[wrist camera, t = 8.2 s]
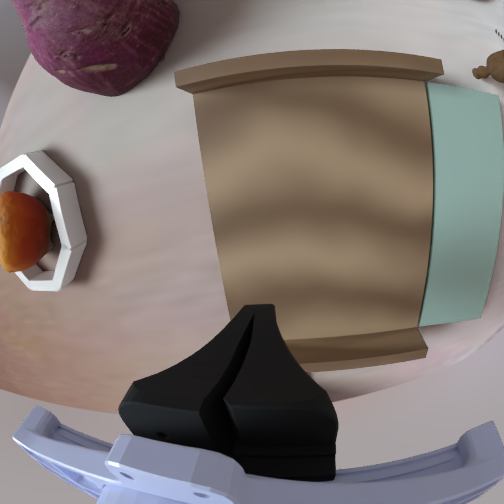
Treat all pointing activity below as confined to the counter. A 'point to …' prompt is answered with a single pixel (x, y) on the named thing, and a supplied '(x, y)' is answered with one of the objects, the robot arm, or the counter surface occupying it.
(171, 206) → the counter surface
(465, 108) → the panel
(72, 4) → the vegetable
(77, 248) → the fruit dish
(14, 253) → the fruit
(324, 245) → the tan lipped tray
